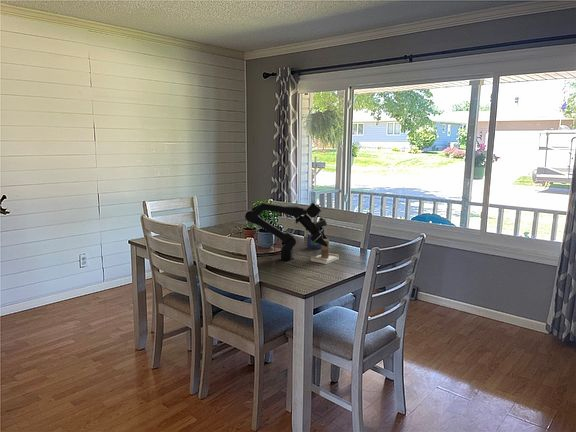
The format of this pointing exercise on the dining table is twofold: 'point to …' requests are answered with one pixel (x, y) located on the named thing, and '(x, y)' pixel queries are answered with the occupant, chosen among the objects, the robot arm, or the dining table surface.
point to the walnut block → (325, 250)
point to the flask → (312, 243)
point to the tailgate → (325, 260)
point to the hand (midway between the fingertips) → (327, 244)
